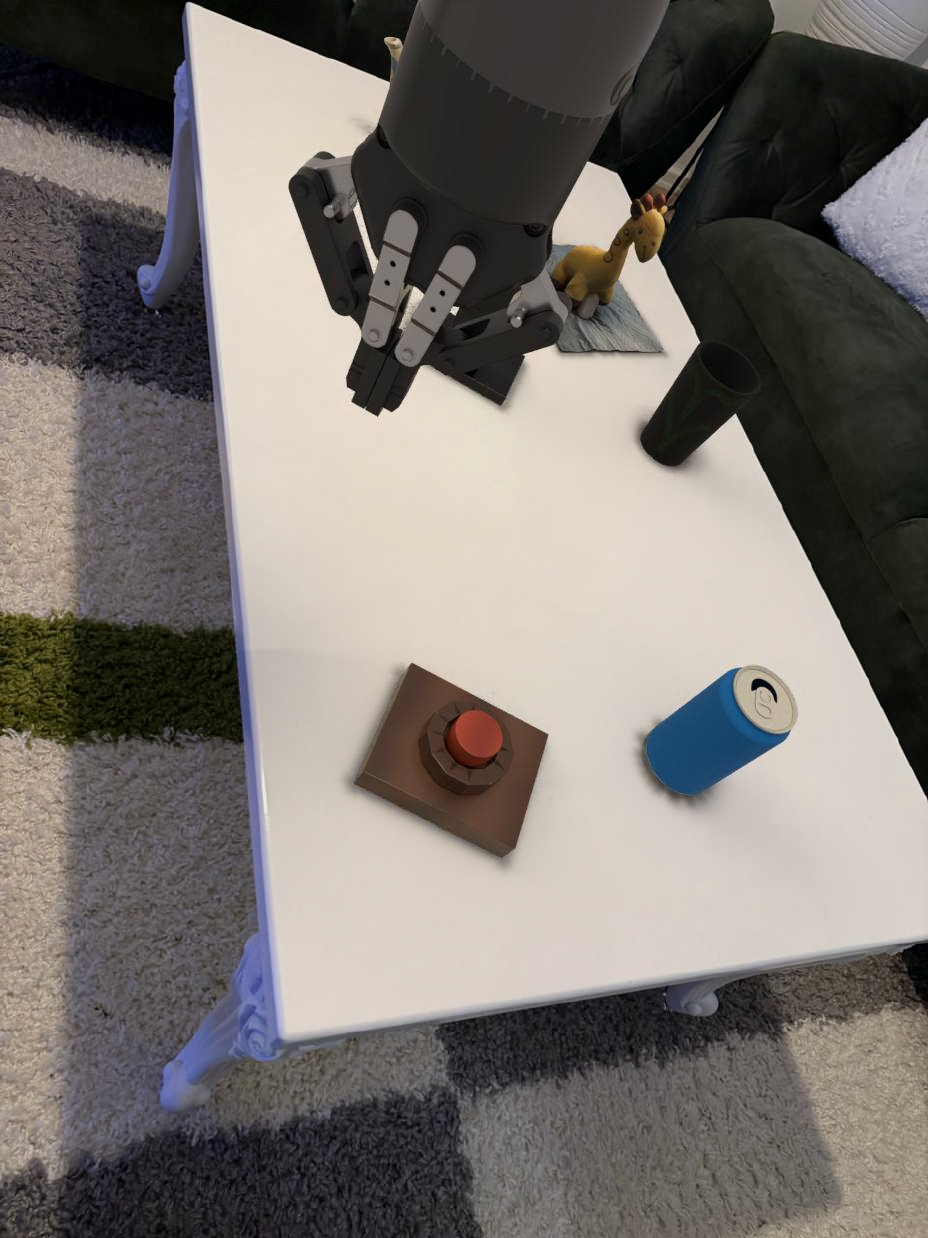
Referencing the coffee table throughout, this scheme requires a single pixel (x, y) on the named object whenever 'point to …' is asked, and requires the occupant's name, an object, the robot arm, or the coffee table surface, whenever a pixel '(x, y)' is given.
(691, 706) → the beverage can
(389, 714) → the button block
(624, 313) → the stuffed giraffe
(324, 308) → the coffee table surface
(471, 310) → the bracket
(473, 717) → the button
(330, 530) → the coffee table surface
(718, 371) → the cup
